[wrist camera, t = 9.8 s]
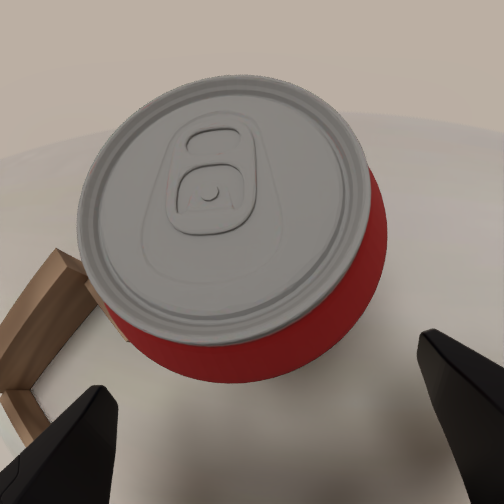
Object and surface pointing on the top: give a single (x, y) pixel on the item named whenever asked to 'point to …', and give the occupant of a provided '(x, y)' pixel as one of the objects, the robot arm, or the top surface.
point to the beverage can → (233, 228)
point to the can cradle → (41, 335)
